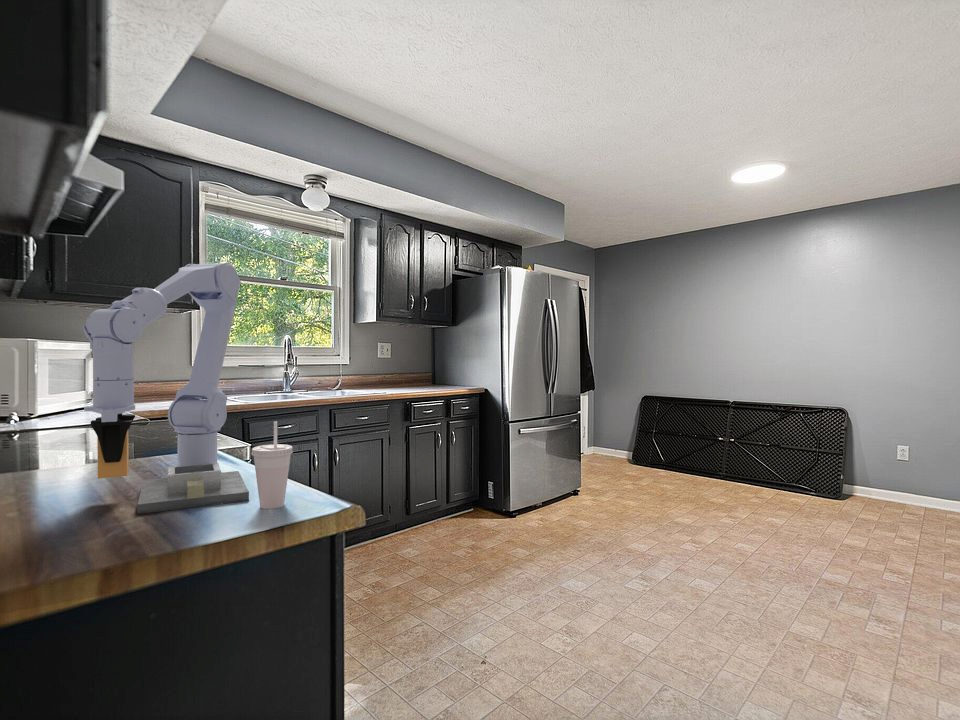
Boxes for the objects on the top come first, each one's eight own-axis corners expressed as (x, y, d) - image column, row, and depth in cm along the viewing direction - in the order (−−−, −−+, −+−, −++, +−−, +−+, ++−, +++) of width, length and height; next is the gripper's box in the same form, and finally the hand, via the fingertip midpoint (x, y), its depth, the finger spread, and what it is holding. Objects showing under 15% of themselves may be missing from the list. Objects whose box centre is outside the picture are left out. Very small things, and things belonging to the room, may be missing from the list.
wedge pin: (100, 473, 90) (100, 427, 90) (128, 471, 92) (128, 425, 92) (97, 478, 87) (97, 430, 87) (126, 475, 89) (126, 428, 89)
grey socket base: (143, 487, 98) (143, 463, 98) (238, 478, 106) (238, 456, 106) (137, 514, 82) (137, 485, 82) (248, 500, 90) (249, 474, 90)
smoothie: (278, 512, 83) (278, 424, 83) (242, 510, 85) (242, 423, 85) (300, 501, 90) (300, 419, 90) (266, 499, 91) (266, 418, 91)
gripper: (90, 378, 94) (91, 454, 94) (77, 382, 81) (77, 470, 81) (138, 377, 97) (138, 450, 97) (132, 381, 85) (132, 465, 85)
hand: (114, 459), depth 90 cm, fingers closed on wedge pin, 4 cm apart
